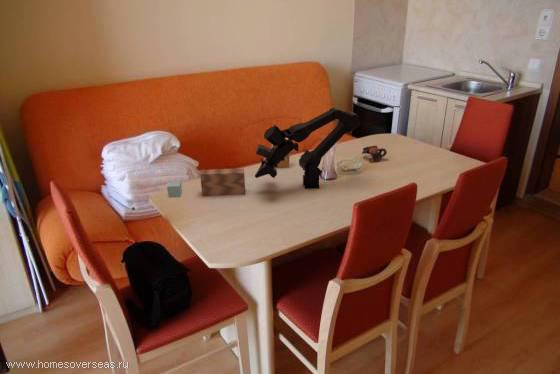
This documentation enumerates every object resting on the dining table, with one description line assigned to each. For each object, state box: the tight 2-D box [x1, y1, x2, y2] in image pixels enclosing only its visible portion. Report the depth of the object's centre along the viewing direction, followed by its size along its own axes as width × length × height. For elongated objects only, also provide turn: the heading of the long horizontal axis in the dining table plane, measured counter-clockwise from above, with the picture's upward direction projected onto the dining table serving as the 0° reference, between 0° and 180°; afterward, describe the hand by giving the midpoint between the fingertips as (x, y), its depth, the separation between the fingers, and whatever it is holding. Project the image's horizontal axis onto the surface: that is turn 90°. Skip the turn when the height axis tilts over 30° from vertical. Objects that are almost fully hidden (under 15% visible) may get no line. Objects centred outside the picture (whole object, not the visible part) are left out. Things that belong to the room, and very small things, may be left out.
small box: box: [270, 137, 290, 169], centre depth 209 cm, size 8×6×13 cm
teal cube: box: [166, 181, 183, 198], centre depth 183 cm, size 5×5×5 cm
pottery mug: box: [361, 145, 388, 163], centre depth 218 cm, size 12×10×8 cm
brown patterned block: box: [199, 167, 246, 197], centre depth 183 cm, size 18×5×10 cm, turn 94°
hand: (255, 177), depth 183 cm, fingers closed
